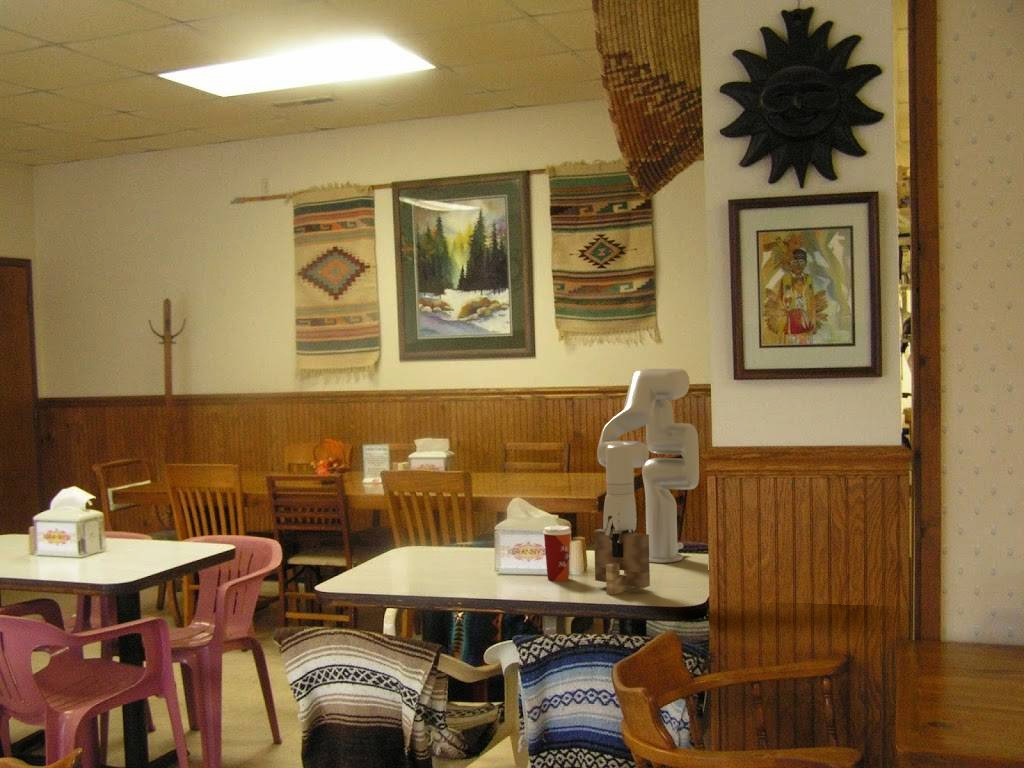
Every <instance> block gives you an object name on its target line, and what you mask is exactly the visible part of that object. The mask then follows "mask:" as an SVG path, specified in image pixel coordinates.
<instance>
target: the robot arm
mask: <svg viewBox="0 0 1024 768" xmlns="http://www.w3.org/2000/svg"><path fill="white" fill-rule="evenodd" d="M690 384H691V383H690V376H689V374H688V371H686V370H685V369H683V368H646V369H645V368H644V369H639V370H636V371H635V372H634V373H633V374H632V377H631V379H630V382H629V385H628V389H627V393H626V398H625V401H624V405H623V410H621V411H620V412H619V413H617V414H616V415H615V416H613V417H612V419H610V420H609V421H608V422H607V423H606V424H605V425H604V427H603V428H602V430H601V432H600V433H601V434H600V437H599V442H598V445H597V450H596V452H597V453H596V458H597V461H598V463H599V464H600V465H601V467H605V476H606V477H605V478H606V479H605V482H606V486H605V487H606V488H605V489H606V495H605V497H604V498H605V499H604V504H603V517H602V520H603V521H602V523H603V528H602V529H604V530H605V531H606V536H608V537H609V538H610V539H611V543H612V556H613V557H618V558H622V557H623V543H621V538H622V532H631V533H635V530H636V529H637V505H636V503H637V502H636V497H635V473H634V471H635V469H637V468H638V469H640V468H641V474H642V475H641V476H642V481H643V485H644V495H645V524H646V525H645V531H646V532H645V534H648V535H649V563H655V564H656V563H657V564H659V563H660V564H667V563H677V562H680V561H682V560H683V555H682V553H679V550H682V549H683V548H684V543H682V542H678V518H677V517H678V515H677V514H678V513H677V509H678V508H677V507H678V506H677V501H676V499H675V497H674V495H673V494H672V493H671V491H670V490H694V489H696V488H697V486H698V485H699V481H700V456H699V455H700V453H699V451H700V450H699V448H700V447H699V445H700V444H699V435H698V430H697V429H696V427H695V426H694V425H693V424H691V423H687V422H686V423H682V422H680V423H679V422H677V423H676V422H674V407H673V405H672V403H671V401H673V400H675V401H676V400H679V399H681V398H683V397H685V396H686V395H687V394H688V392H689V389H690ZM642 427H645V443H644V442H643V441H639V440H617V439H618V438H619V437H621V436H623V435H625V434H626V433H629V432H632V431H634V430H638V429H640V428H642ZM650 453H652V454H660V455H661V454H662V455H681V457H682V458H672V457H654V458H650V459H649V457H650ZM616 534H618V537H617V535H616Z"/></svg>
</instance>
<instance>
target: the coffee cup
mask: <svg viewBox="0 0 1024 768" xmlns="http://www.w3.org/2000/svg"><path fill="white" fill-rule="evenodd" d="M571 533H572V530H571V528H570V527H569V526H567V525H548V526H546V527H544V529H543V531H542V534H543V538H544V550H545V564H546V575H547V580H548V581H551V582H565V581H569V575H570V554H571V553H570V549H571V548H570V547H571Z"/></svg>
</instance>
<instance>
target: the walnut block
mask: <svg viewBox="0 0 1024 768" xmlns="http://www.w3.org/2000/svg"><path fill="white" fill-rule="evenodd" d="M593 534H594V535H593V536H594V545H593V546H594V581H597V582H603V583H606V565H607V564H610V563H619V564H620V571H623V572H624V571H626V576H627V586H633V587H635V588H640V589H646V588H648V587H650V586H651V582H650V580H651V579H650V576H651V575H650V572H651V571H650V570H651V569H650V568H651V567H650V562H649V535H648V534H646V533H638V532H633V533H631V532H626V531H625V532H622V538H621V543H623V557H622V558H618V557H613V556H612V543H611V539H610V538H609V537H608V536H606V531H605V530H604V528H598V529H595V530H593ZM616 535H617V537H618V534H616Z"/></svg>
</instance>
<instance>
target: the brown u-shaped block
mask: <svg viewBox="0 0 1024 768" xmlns="http://www.w3.org/2000/svg"><path fill="white" fill-rule="evenodd" d="M620 571H621V570H620V564H619V563H610V564H607V565H606V582H605V584H606V585H605V586H606V588H605V589H606V595H610V596H614V595H617V594H620V593H623V592H625V591H629V590H632V589H634V588H636V587H633V586H627V576H626V571H624V570H623V573H622V574H621V573H620Z"/></svg>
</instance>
